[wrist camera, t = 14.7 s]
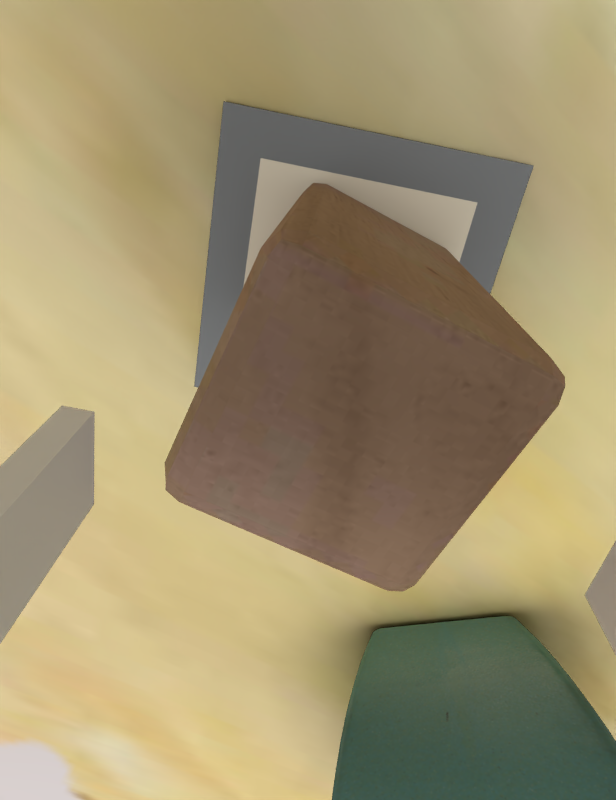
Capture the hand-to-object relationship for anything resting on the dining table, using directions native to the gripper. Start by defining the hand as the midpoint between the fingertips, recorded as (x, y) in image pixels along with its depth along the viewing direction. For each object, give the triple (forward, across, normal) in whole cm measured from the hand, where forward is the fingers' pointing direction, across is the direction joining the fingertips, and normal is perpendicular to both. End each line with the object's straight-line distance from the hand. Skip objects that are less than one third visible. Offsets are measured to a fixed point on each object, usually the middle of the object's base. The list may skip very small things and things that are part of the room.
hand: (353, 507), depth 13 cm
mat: (+24, 0, -1) cm, 24 cm away
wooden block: (+24, 0, -1) cm, 24 cm away
